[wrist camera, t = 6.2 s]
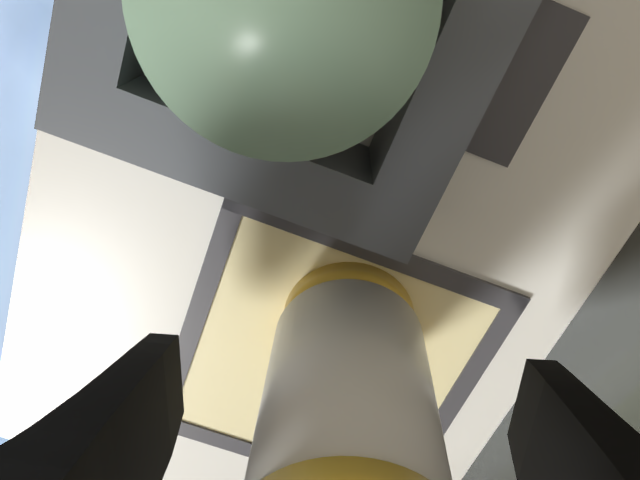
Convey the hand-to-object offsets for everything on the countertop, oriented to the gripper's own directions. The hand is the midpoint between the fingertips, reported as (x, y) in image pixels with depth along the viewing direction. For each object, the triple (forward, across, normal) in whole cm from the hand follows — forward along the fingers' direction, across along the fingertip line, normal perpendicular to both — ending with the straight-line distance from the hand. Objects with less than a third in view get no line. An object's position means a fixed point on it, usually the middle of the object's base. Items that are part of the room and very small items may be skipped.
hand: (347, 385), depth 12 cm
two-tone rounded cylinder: (+2, 0, 0) cm, 2 cm away
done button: (+1, +1, -7) cm, 8 cm away
